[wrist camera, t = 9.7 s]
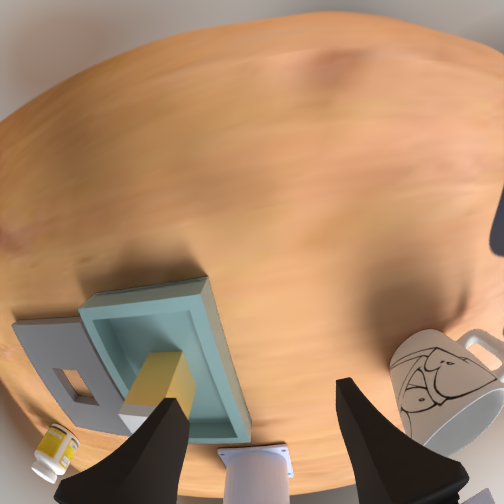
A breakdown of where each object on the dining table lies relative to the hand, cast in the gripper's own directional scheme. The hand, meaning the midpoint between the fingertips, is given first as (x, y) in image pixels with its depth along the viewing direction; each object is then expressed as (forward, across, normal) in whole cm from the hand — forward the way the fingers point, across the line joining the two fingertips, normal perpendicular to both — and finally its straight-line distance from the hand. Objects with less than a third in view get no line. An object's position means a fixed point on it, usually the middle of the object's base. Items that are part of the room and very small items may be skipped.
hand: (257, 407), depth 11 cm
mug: (+10, -15, +8) cm, 20 cm away
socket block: (+9, +21, +7) cm, 24 cm away
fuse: (+9, +8, +5) cm, 13 cm away
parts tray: (+9, +8, +5) cm, 13 cm away
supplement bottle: (+10, +34, +20) cm, 41 cm away
